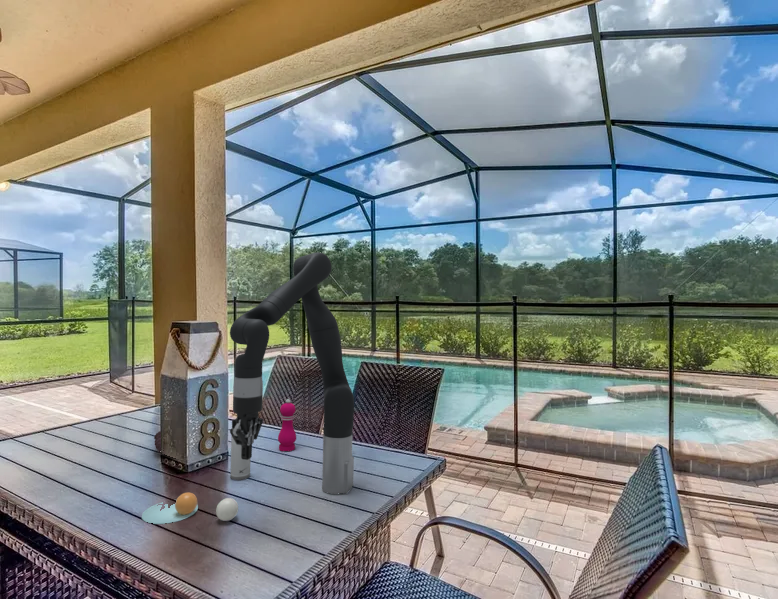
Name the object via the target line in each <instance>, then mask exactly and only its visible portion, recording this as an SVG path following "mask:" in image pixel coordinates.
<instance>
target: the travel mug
mask: <svg viewBox="0 0 778 599" xmlns="http://www.w3.org/2000/svg"><path fill="white" fill-rule="evenodd" d="M236 419H237V417H236V418H235V419H232V420H231V429H234V428H235V426H236ZM230 442H231V443H230V445H231V446H230V476H229V477H230V479H231V480H233V481H244V480H246V479H248V478H250V476H251V458H252V457H251V458H250V459H248V460H244V459H242V458H241V448H242V447H241V445H237V444H236V443H235V441H234V439H233V437H232V435H231V441H230Z"/></svg>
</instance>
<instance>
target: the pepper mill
mask: <svg viewBox="0 0 778 599" xmlns="http://www.w3.org/2000/svg"><path fill="white" fill-rule="evenodd" d="M279 410H280V411H279V412H280V414H281V417H280V418H281V421H282V424H281V428H280V431H279V433H278V436H277V442H279V444H278V451H281V452H284V451H288V452H292V450H293V451H294V450H295V448H296V444H295V443H296V441H297V433H296V431H295V429H294V419H295V415H294V414H295V412H296V406H295V404H293V403H292V402H291V399H289V398H287V399H286V400H285V403H283V404H282V405H281V406H280V409H279Z"/></svg>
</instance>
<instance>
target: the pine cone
mask: <svg viewBox="0 0 778 599" xmlns="http://www.w3.org/2000/svg"><path fill="white" fill-rule="evenodd" d="M161 431H162V430H160V431H158V432H156V433H155V435H154V436H153V439H154V447H155V449H156V451H157V452H158V453H160V451H161ZM160 454H161V453H160Z"/></svg>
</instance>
